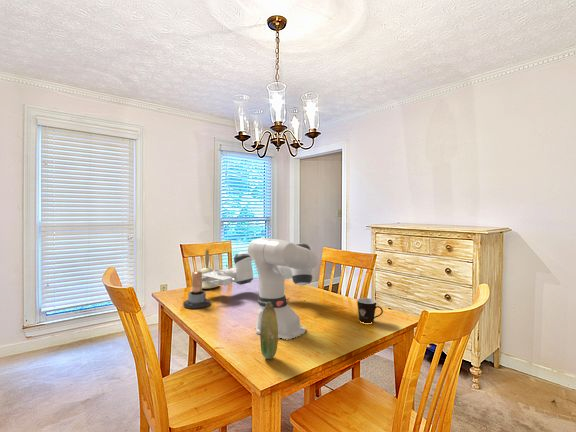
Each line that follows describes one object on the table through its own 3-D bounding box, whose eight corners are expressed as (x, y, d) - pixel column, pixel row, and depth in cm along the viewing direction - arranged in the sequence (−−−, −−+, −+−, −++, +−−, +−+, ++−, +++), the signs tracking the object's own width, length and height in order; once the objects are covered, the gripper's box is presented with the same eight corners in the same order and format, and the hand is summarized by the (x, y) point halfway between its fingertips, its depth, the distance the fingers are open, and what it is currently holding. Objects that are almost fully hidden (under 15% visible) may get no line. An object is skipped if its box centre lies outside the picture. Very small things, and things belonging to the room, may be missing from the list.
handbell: (220, 289, 199) (220, 250, 198) (195, 291, 193) (196, 251, 192) (217, 283, 213) (217, 247, 212) (193, 285, 207) (193, 248, 206)
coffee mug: (353, 320, 148) (353, 299, 148) (368, 317, 151) (369, 297, 151) (367, 329, 137) (368, 306, 137) (384, 326, 140) (384, 304, 140)
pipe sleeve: (215, 304, 169) (215, 292, 169) (194, 310, 158) (194, 298, 158) (199, 299, 178) (199, 287, 177) (177, 305, 166) (177, 293, 166)
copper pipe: (203, 301, 168) (203, 272, 168) (196, 304, 164) (196, 273, 164) (198, 300, 171) (198, 270, 171) (190, 302, 167) (190, 272, 167)
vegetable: (281, 358, 110) (281, 302, 109) (270, 365, 105) (271, 306, 104) (267, 353, 113) (268, 299, 113) (256, 360, 108) (257, 303, 107)
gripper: (237, 285, 178) (218, 290, 166) (213, 279, 190) (194, 284, 179) (237, 274, 177) (218, 278, 166) (213, 269, 189) (194, 273, 178)
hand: (205, 281), depth 173 cm, fingers open, 8 cm apart
